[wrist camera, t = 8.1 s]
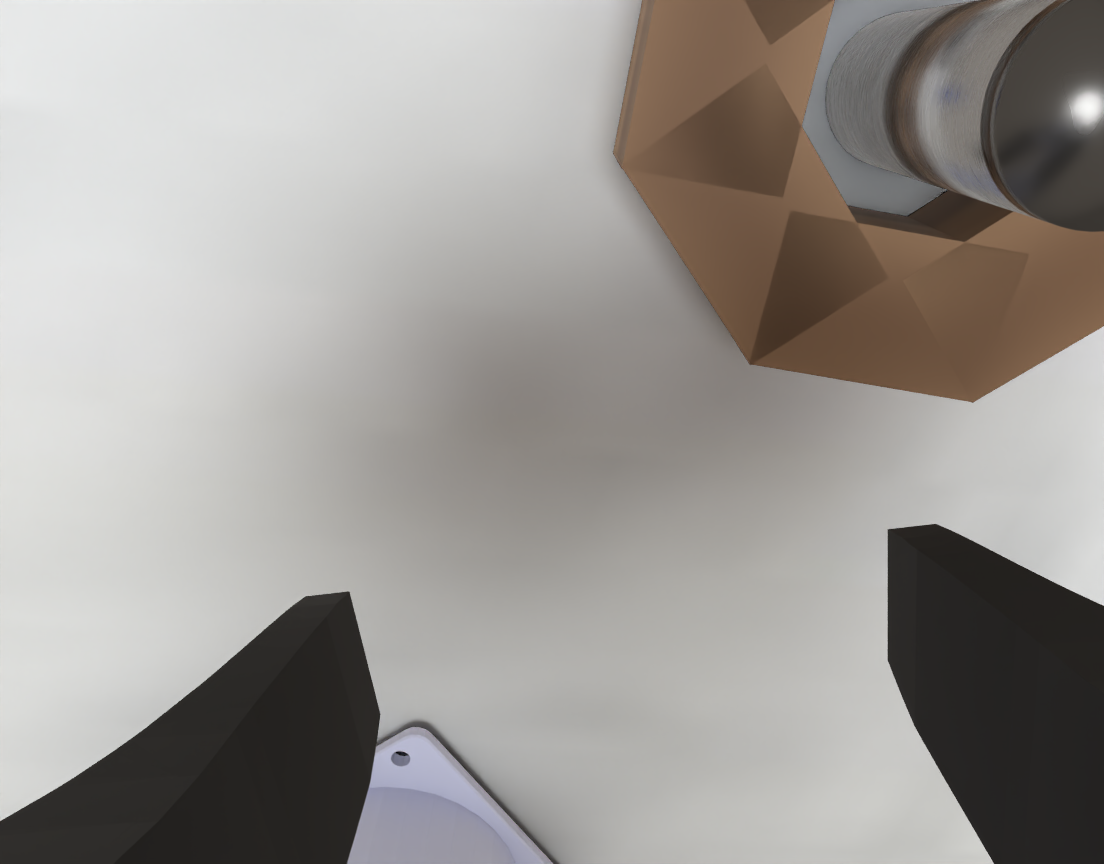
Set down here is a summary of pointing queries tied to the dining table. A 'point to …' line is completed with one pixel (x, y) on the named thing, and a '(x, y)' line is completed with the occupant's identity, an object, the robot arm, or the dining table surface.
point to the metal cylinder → (983, 103)
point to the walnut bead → (831, 220)
